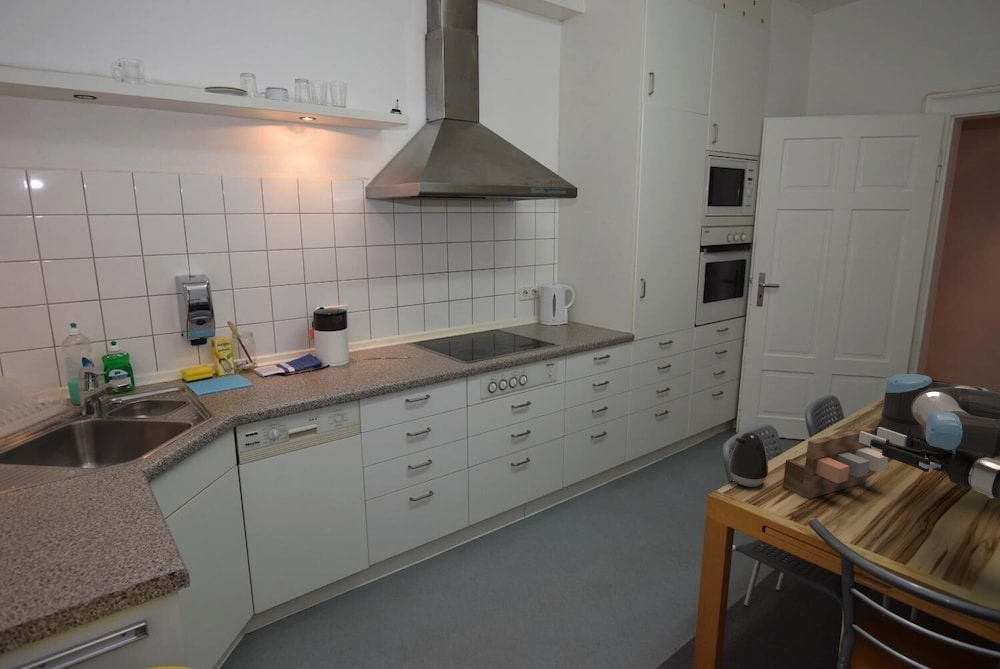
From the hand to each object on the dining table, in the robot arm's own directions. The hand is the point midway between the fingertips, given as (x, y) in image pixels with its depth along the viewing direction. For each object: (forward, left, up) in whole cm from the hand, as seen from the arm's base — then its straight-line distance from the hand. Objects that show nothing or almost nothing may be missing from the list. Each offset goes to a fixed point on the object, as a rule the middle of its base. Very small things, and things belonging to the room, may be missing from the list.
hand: (869, 434), depth 140 cm
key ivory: (-17, -6, -15) cm, 24 cm away
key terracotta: (-2, -9, -15) cm, 17 cm away
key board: (-10, -13, -22) cm, 28 cm away
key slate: (-9, -7, -15) cm, 19 cm away
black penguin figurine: (+7, -26, -22) cm, 35 cm away
